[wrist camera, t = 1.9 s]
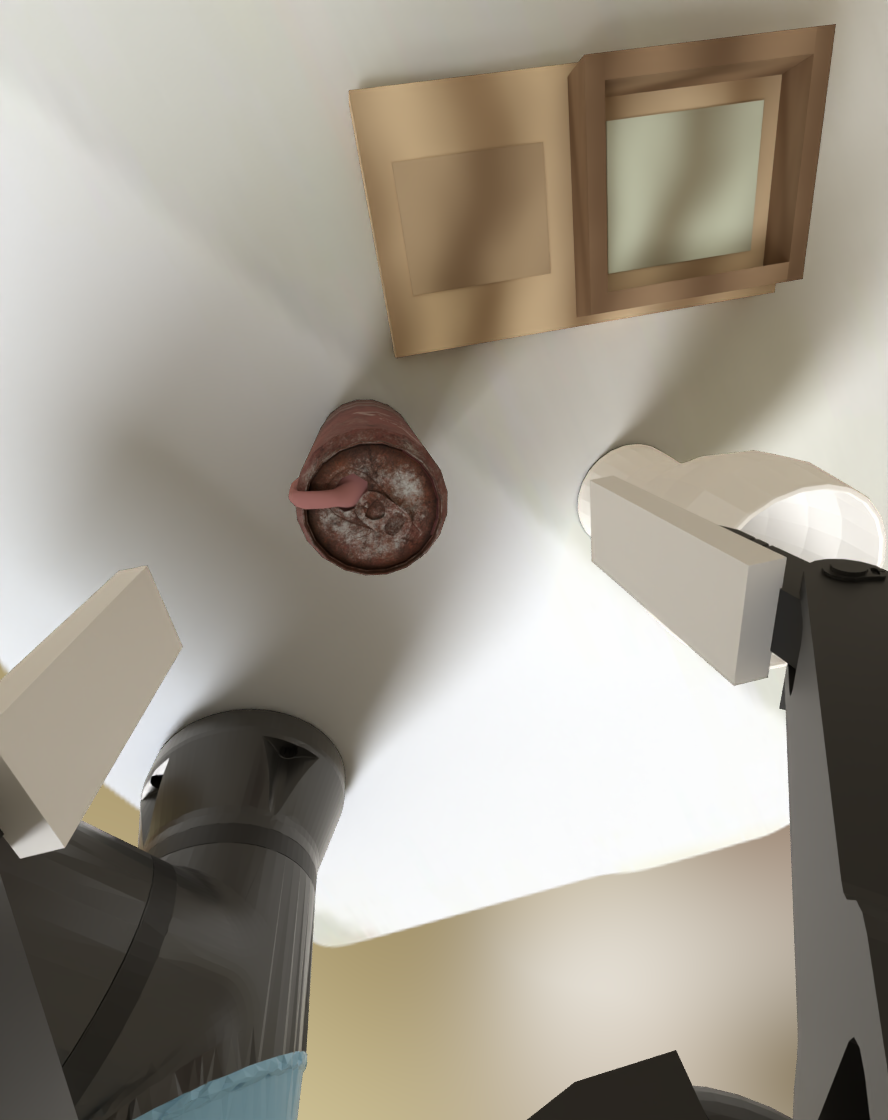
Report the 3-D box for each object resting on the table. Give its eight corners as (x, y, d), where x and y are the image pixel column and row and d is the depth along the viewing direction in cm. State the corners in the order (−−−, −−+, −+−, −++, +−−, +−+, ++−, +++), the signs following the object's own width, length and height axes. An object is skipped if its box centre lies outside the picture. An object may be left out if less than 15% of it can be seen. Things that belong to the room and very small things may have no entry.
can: (310, 397, 30) (276, 431, 17) (414, 400, 31) (455, 433, 18) (317, 494, 32) (291, 587, 19) (413, 493, 33) (449, 581, 20)
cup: (718, 447, 36) (943, 506, 22) (653, 576, 39) (813, 695, 25) (594, 402, 33) (764, 437, 19) (536, 545, 36) (645, 660, 23)
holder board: (395, 357, 30) (399, 358, 27) (349, 104, 25) (348, 68, 22) (756, 294, 32) (801, 288, 29) (780, 50, 27) (837, 10, 24)
